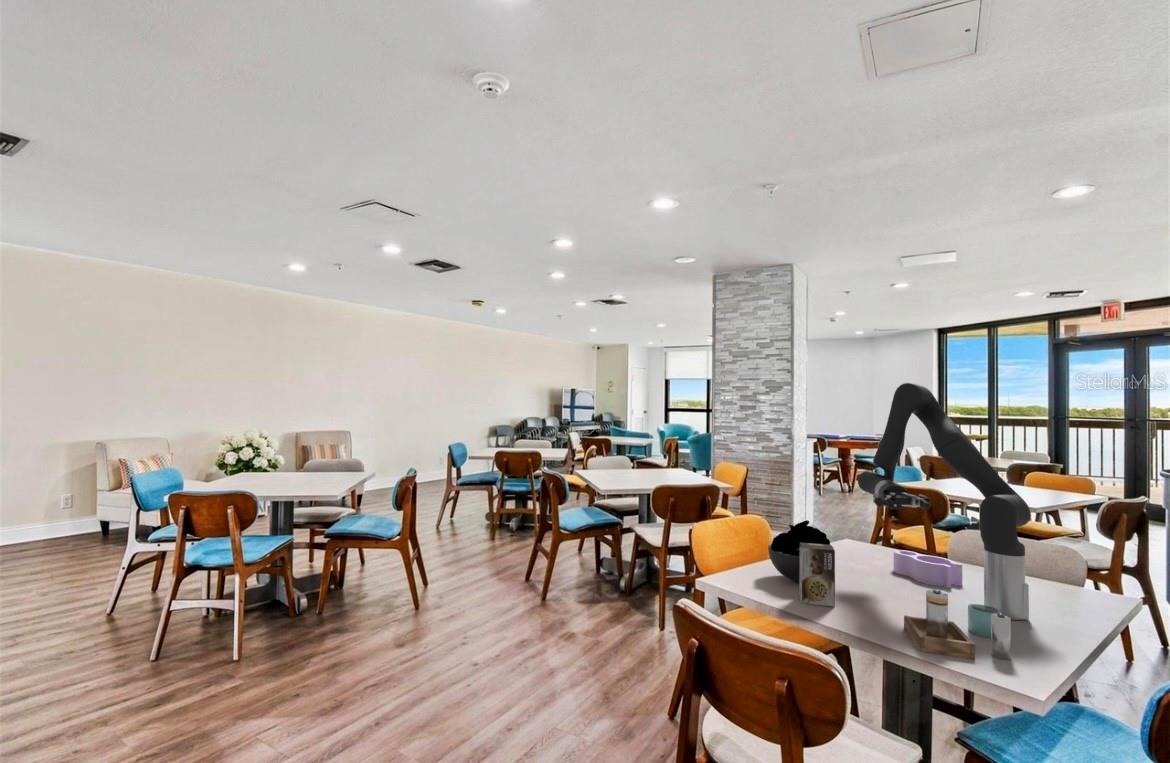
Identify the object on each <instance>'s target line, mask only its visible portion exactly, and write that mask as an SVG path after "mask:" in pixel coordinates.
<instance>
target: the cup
mask: <svg viewBox="0 0 1170 763" xmlns="http://www.w3.org/2000/svg"><path fill="white" fill-rule="evenodd" d="M997 613H1002V612H1001V611H1000V610H999V609H996V608H994V607H990V606H986V605H984V604H980V603H970V604H968V605H967V630H968V632H970V633H971V634H974V635H976V636H979V637H983V638H988V639H991V614H997Z"/></svg>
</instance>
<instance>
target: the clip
mask: <svg viewBox="0 0 1170 763" xmlns="http://www.w3.org/2000/svg"><path fill="white" fill-rule="evenodd" d="M892 565H893V567H892V568H893V569H892V570H893V572H894V573H896V574H899V575H903V576H906V577H910V578H912V579H913V580H915V581H917V582H920V583H923V584H927V585H931V584H932V586H937V585H938V587H945V588H946V589H951V588H952V585H953V584H954V585H955V586H960V587H962V586H963V564H962V563H958V562H955V561H954V560H952V559H950V558H945V557H940V556H935V555H930V554H929V555H927V554H921V553H918V552H916V551H911V550H906V549H905V550H903V549H900V550H899V551H897V550H893V564H892Z"/></svg>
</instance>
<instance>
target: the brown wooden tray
mask: <svg viewBox="0 0 1170 763" xmlns="http://www.w3.org/2000/svg"><path fill="white" fill-rule="evenodd" d="M903 630H904V631H905V632H906V634H907V635H908V636H909V637H910V639H911V641H912V642H913V643H914V645H915V646H916V648H917V649H918V651H919V652H923V653H929V654H936V655H944V656H945V655H946V656H952V657H956V658H957V657H959V658H964V659H965V658H966V659H972V660H975V659H976V644H975V643H974V642H973V641H972V640H971V638H970V637H969V636H967V634H966V633H964V631H963V630H961V628H960V627H959V626H958V625H957V624H956V623H955V622H954V621H951V620H948V639H944V638H936V637H929V636H926V617H918V616H911V615H910V616H909V615H903Z"/></svg>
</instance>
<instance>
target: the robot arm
mask: <svg viewBox="0 0 1170 763" xmlns="http://www.w3.org/2000/svg"><path fill="white" fill-rule="evenodd" d="M912 414H913V415H915V417H917V418H918V419H919V421H920V423H922V424H923V425H924V426H925V429H927V431H928V433H929V436H930V437H929V438H930V440H931V442H932V445H933V447H934V449H935V450H936V451H937V454H938V455H940V457H941V458H942V460H943V461H944V462H945V463H946V464H947V466H949V468H950V469H951V470H953V472H955V473H956V474H958V475H959V476H961V477H962V478H963V479H964V480H966V481H967V482H969V483H970V484H972V485H973V486H974V487H975V488H976V489H977V491H979V492H980V494H982V495H983V497H984V498H983V500H982V501H981V504H980V505H979V528H980V529H979V530H980V538H981V541H982V543H983V564H984V565H983V605H986V606H990V607H994V608H996V609H999V610H1000V611H1001V612H1002V614H1004V615H1005V616H1008V617H1010V618H1011V620H1015V621H1021V620H1030V602H1029V601H1030V598H1029V597H1030V594H1029V593H1030V592H1029V591H1030V589H1029V588H1030V587H1029V584H1028V583H1027V582H1026V546H1025V545H1024V544H1023V543H1022V542H1020V540H1019V538H1018V528H1021V527H1024V526H1026V525H1027V524H1028V523H1029V522H1030V520H1031V515H1032V514H1031V510H1030V506H1029V505H1028V504H1027V502H1026V501H1025V500H1024V499H1023V498H1022V496H1020V495H1019V493H1018V492H1016V491H1015V490H1014V489H1013V488H1012V487H1011V486H1010V485H1009V484H1008V483H1007V482H1006V481H1005V480H1004V479H1003V478H1002V477H1001V476H1000V475H999V474H998V472H997V471H996V470H995V469H994V468H993V466H992V465H991V464H990V463H989V462H988V461H987V459H986V458H985V457H984V456H983V455H982V453H981V451H979V450H978V448H977V447H976V446H975V444H974V443H973V442H972V441H971V440H970V438H969V437H968V436H967V435H966V434H965V433H964V432H963V431H962V429H960V427H959V426H958V425H957V424H956V423H955V422H954V421H953V420H952V419H951V418H950V417H949V415H948V414H947V413H946V412H945V411H944V409H943V407H942V406H941V405H940V403H939V401H938V400H937V399H936V397H935V396H934V394H933V393H932V391H930V389H929V388H927V387H925V386H923V385H920V384H918V383H913V382H905V383H902V384H900V385H899V386H898V387H897V388H896V389H895V391H894V394H893V397H892V401H891V406H890V410H889V414H888V417H887V422H886V426H885V429H884V432H883V435H882V438H881V439H880V443H879V445H878V447H877V450H876V451H875V454H874V456H873V459H872V462H873V464H874V465H875V466H877V467H878V468H880V469H882V470H883V474H880V473H878V472H874V471H871V470H864V471H863V472H861V473H860V474H859V476H858V478H857V485H858V487H859V489H860V490H862V491H864V492H865V493H868V494H870V495H872V500H873V501H872V502H873V503H874V504H875V505H876V507H882V506H883V507H885V508H889V510H900V509H903V508H904V507H905V508H906V507H909V508H915V509H916V508H920V509H922V510H924V511H928V510H929V509H930V508H931V507H932V503H931V498H930V497H928V496H926V495H924V494H921V493H920V494H918V495H916V494H912V493H911V494H910V493H909V491H908V490H907V489H906V487H904V486H902V485H900V484H899V483H897V482H895V481H894V480H895V472H896V469H897V468H896V467H897V465H898V463H899V460H900V459H901V456H902V453H903V451H904V448H905V441H906V440H905V439H906V438H905V437H906V429H907V425H908V422H909V419H910V418H911V416H912Z"/></svg>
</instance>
